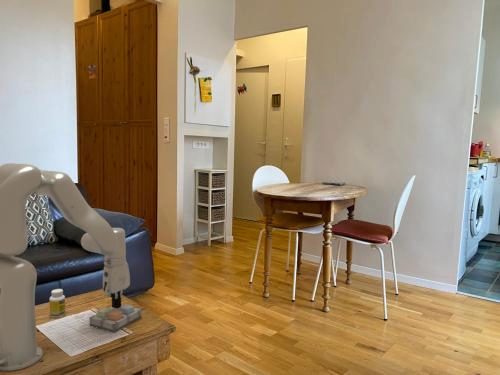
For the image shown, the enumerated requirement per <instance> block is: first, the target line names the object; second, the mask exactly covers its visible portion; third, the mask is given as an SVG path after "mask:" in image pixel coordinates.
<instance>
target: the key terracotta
mask: <svg viewBox="0 0 500 375" xmlns="http://www.w3.org/2000/svg"><path fill="white" fill-rule="evenodd" d="M122 318H123V314H122V312H120V311H116V310H115V311H113V312H111V313H109V320H111V321H115V322H116V321H118V320H120V319H122Z"/></svg>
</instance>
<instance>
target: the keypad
mask: <svg viewBox="0 0 500 375" xmlns="http://www.w3.org/2000/svg"><path fill="white" fill-rule="evenodd" d="M125 305H126V304H125ZM125 305H124V304H121V306H125ZM111 307H112V306H110V307H108V309H110V308H111ZM111 312H113V311H111ZM120 312H121V310H120ZM88 318H89V327H92V326H93V328H95V327H97V328H96V329H99V330H102V329H103V331H107V332H108V333H109V332H110V333H113V334H115V333H117V332H119V331H120V330H122V329H125V328H126V327H128V326H129V325H131V324H133V323H134V322H136V321H138V320H140V319H142V309H141V308H135V307H134V312H133V313H131V314H129V315H125V314H123V318H122V319H120V320H118V321H116V322H115V321H111V320H109V316H108V317H106V318H100V317H97V313H95V314H93V315H91V316H90V317H88Z"/></svg>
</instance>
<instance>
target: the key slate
mask: <svg viewBox="0 0 500 375" xmlns="http://www.w3.org/2000/svg"><path fill="white" fill-rule="evenodd" d="M134 308H135V306H134V305H131V304H130V305H129V304H125V306H123V307H121V312H122V314H125V315H129V314H131V313H133V312H134Z"/></svg>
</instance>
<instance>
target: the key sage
mask: <svg viewBox="0 0 500 375" xmlns="http://www.w3.org/2000/svg"><path fill="white" fill-rule="evenodd" d="M108 308H109V307H108ZM108 308H107V307H102V308H100V309H98V310H97V311H96V312H97V313H96V314H97V317H100V318H106V317H108V316H109V313H111V309H108Z"/></svg>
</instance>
